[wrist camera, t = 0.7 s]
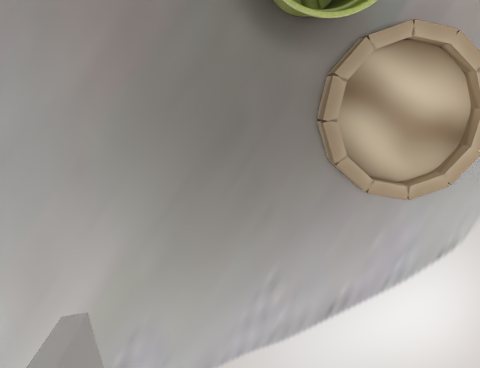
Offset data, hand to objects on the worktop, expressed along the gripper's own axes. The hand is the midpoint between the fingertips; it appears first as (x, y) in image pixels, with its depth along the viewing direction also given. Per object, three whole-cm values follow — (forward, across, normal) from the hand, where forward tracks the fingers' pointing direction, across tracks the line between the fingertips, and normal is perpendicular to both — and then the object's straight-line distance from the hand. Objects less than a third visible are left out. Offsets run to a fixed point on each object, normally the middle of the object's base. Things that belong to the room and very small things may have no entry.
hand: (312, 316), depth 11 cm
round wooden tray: (+24, +14, +2) cm, 27 cm away
